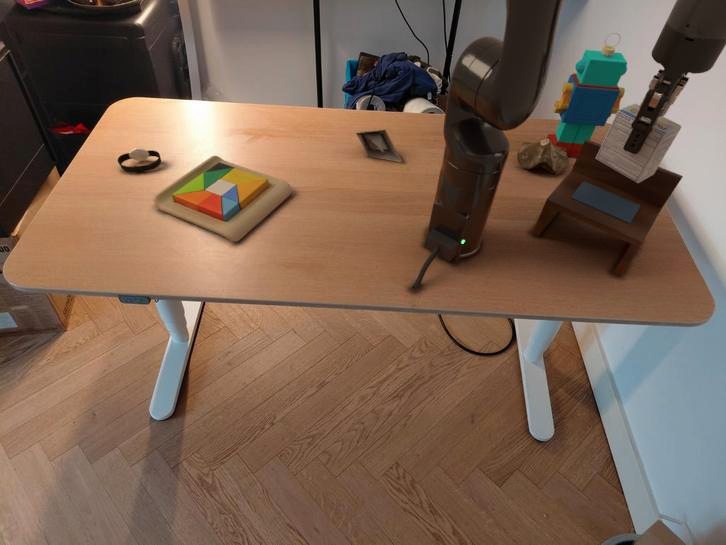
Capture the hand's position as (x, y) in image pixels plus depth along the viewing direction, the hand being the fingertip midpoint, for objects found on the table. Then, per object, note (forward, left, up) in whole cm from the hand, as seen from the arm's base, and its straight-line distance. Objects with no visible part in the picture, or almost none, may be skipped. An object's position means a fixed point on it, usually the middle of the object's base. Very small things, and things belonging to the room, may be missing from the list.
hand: (636, 142), depth 72 cm
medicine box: (0, 0, -5) cm, 5 cm away
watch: (-40, +76, -20) cm, 88 cm away
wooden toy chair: (0, 0, -19) cm, 19 cm away
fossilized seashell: (+15, +16, -20) cm, 29 cm away
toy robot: (+25, +14, -20) cm, 35 cm away
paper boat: (-6, +44, -20) cm, 48 cm away
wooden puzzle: (-36, +56, -20) cm, 69 cm away
